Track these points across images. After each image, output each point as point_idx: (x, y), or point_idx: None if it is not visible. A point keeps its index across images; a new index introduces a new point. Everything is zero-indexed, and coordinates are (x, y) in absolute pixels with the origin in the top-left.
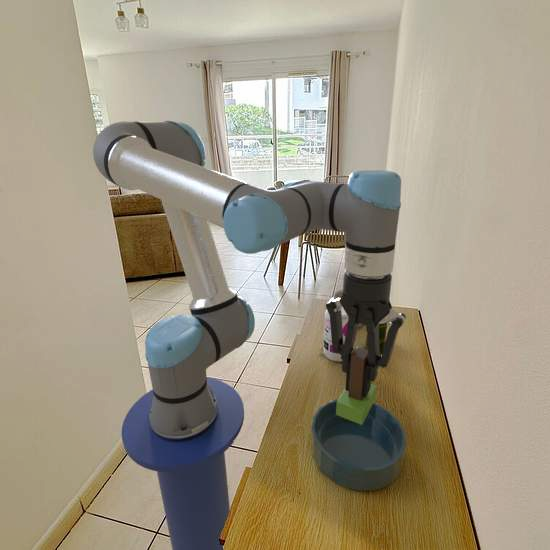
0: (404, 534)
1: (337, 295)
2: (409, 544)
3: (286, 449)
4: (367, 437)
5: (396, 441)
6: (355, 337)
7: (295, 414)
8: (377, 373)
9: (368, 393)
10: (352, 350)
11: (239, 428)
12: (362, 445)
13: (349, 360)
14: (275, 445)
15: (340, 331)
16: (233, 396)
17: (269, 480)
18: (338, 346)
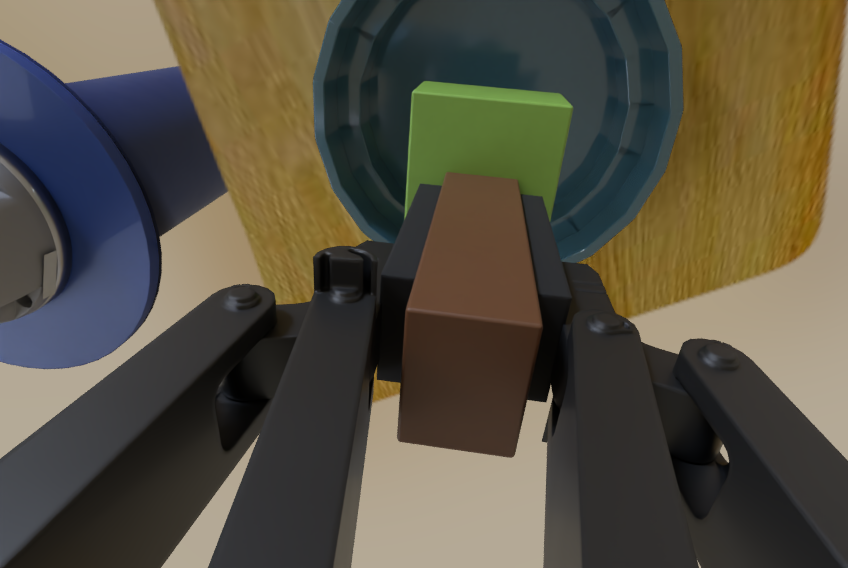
0: (643, 293)
1: None
2: (653, 308)
3: (294, 192)
4: (519, 36)
5: (636, 59)
6: (359, 411)
7: (237, 34)
8: (601, 281)
9: (533, 195)
10: (375, 310)
11: (134, 195)
12: (508, 84)
13: (390, 369)
14: (259, 193)
15: (160, 481)
16: (1, 77)
17: (308, 292)
18: (257, 433)
